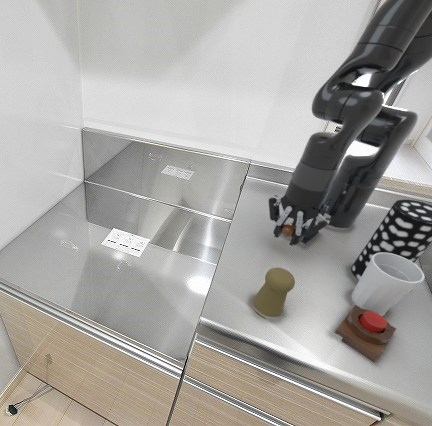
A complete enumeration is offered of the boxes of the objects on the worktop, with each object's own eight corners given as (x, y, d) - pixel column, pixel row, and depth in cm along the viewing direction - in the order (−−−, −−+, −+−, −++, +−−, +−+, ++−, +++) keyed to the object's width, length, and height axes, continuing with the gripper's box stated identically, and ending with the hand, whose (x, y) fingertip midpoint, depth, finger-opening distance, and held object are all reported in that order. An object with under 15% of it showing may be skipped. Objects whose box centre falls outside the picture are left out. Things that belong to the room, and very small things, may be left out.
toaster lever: (290, 241, 72) (293, 233, 70) (277, 235, 74) (279, 226, 72) (323, 207, 77) (326, 198, 74) (310, 202, 79) (313, 193, 76)
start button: (363, 313, 58) (367, 307, 57) (385, 325, 56) (390, 320, 55) (356, 323, 57) (360, 317, 56) (378, 336, 54) (383, 331, 53)
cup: (374, 326, 60) (408, 288, 53) (336, 297, 66) (362, 259, 59) (398, 312, 62) (434, 274, 55) (359, 285, 68) (387, 247, 61)
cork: (284, 322, 61) (304, 288, 54) (253, 317, 62) (269, 283, 55) (277, 298, 66) (294, 265, 59) (249, 294, 67) (262, 261, 60)
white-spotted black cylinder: (353, 286, 68) (402, 218, 56) (345, 262, 74) (388, 196, 62) (397, 297, 65) (458, 228, 53) (385, 270, 72) (437, 204, 60)
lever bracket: (304, 247, 79) (323, 208, 71) (282, 235, 83) (298, 198, 75) (317, 234, 83) (337, 197, 75) (296, 224, 87) (313, 187, 79)
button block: (350, 310, 63) (359, 299, 60) (390, 334, 58) (401, 323, 56) (332, 334, 59) (341, 323, 56) (373, 362, 54) (385, 351, 52)
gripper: (354, 188, 61) (320, 248, 72) (287, 164, 71) (266, 221, 81) (339, 201, 58) (306, 262, 68) (271, 174, 67) (250, 231, 77)
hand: (284, 239), depth 74 cm, fingers closed on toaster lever, 3 cm apart
